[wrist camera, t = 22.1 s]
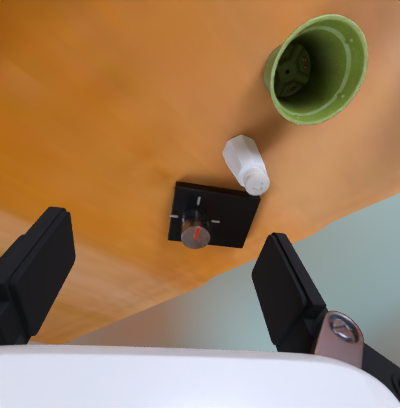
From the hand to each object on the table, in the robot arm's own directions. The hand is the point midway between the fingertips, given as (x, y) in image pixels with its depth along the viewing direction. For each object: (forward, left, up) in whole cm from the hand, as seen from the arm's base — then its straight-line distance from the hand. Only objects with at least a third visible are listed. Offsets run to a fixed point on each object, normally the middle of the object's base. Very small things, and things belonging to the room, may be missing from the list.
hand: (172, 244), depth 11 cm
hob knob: (+4, -15, -24) cm, 28 cm away
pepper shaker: (+9, -3, -26) cm, 28 cm away
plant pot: (+12, +8, -26) cm, 30 cm away
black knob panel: (+7, -15, -26) cm, 31 cm away
